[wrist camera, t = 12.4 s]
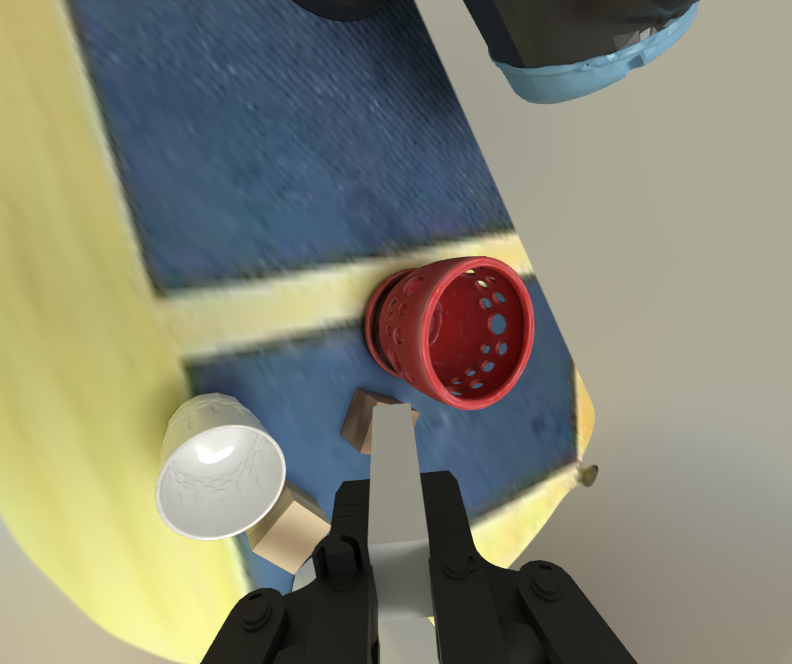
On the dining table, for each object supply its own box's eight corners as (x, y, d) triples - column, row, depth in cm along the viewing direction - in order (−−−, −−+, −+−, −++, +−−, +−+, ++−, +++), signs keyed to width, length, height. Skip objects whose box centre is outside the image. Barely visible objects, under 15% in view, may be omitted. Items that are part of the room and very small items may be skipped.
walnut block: (355, 387, 41) (378, 401, 37) (394, 397, 44) (419, 412, 40) (339, 433, 41) (360, 452, 37) (379, 441, 44) (403, 460, 39)
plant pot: (437, 388, 47) (514, 423, 36) (337, 363, 40) (398, 396, 29) (470, 282, 47) (556, 287, 37) (377, 239, 40) (450, 229, 30)
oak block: (279, 474, 38) (294, 500, 34) (314, 499, 41) (332, 526, 36) (241, 518, 37) (251, 551, 33) (280, 541, 39) (294, 574, 35)
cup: (326, 520, 42) (425, 677, 26) (399, 548, 47) (518, 692, 31) (264, 622, 40) (330, 859, 24) (348, 639, 45) (447, 841, 29)
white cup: (271, 400, 37) (303, 440, 28) (236, 480, 36) (258, 546, 28) (182, 373, 33) (188, 410, 24) (140, 463, 32) (132, 534, 24)
